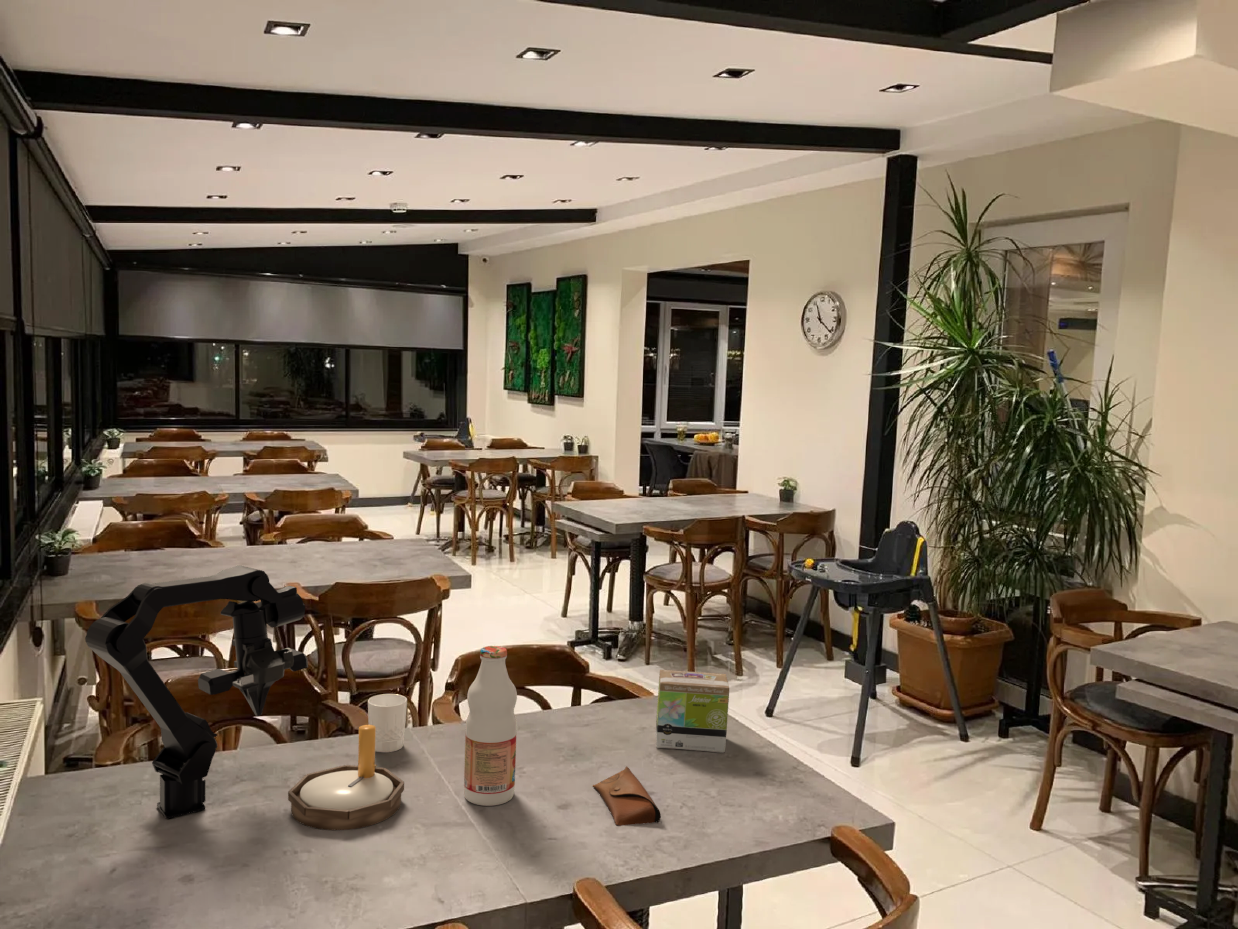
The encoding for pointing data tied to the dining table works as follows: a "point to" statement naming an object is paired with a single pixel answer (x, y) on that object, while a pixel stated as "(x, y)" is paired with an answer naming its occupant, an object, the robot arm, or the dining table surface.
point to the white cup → (388, 721)
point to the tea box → (692, 711)
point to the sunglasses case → (627, 799)
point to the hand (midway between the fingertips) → (258, 715)
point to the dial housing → (345, 818)
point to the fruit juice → (490, 732)
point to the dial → (350, 781)
